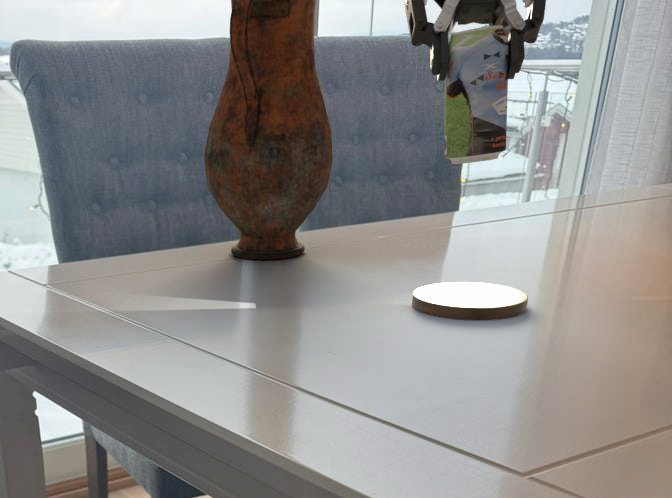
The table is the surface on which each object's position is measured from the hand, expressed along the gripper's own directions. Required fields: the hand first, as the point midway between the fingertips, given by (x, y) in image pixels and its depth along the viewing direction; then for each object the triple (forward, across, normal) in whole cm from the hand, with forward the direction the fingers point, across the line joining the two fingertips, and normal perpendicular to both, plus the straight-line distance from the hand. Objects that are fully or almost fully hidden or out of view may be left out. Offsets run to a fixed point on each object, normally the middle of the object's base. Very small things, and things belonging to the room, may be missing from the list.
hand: (477, 72), depth 90 cm
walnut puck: (+23, 0, +8) cm, 24 cm away
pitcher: (-3, -21, +34) cm, 40 cm away
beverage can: (+5, 0, +7) cm, 9 cm away
